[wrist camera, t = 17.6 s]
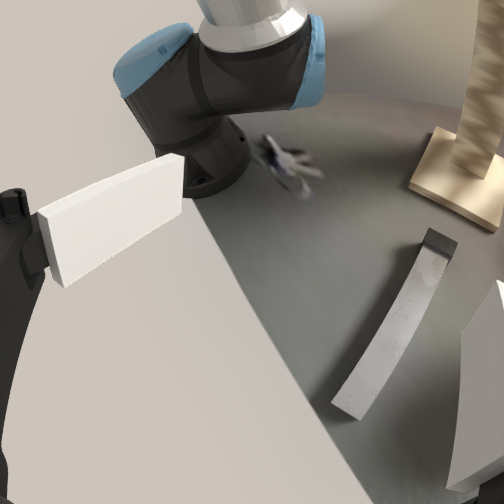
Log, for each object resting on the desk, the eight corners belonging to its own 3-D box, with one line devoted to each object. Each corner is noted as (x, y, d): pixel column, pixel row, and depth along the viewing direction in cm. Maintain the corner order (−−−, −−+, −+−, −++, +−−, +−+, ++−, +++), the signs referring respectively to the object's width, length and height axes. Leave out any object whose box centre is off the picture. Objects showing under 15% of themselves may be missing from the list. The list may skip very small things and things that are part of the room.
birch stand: (408, 188, 40) (429, -31, 15) (435, 133, 44) (451, -42, 18) (494, 233, 34) (582, 32, 8) (508, 169, 37) (559, 1, 12)
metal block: (359, 421, 29) (363, 422, 26) (328, 402, 30) (328, 400, 27) (449, 257, 34) (457, 242, 31) (422, 242, 36) (428, 227, 33)
